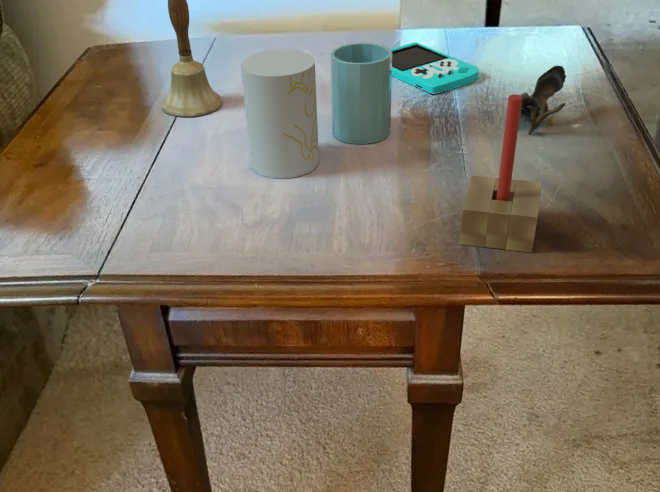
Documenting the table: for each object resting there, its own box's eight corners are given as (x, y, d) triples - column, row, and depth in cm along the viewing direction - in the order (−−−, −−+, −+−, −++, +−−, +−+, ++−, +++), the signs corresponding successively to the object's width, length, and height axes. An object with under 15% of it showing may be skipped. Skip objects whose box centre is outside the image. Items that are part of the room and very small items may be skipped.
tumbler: (395, 122, 99) (397, 44, 92) (383, 146, 93) (384, 65, 87) (341, 118, 100) (339, 41, 94) (326, 141, 95) (323, 61, 89)
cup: (304, 182, 87) (298, 79, 79) (239, 173, 89) (228, 72, 82) (328, 151, 93) (325, 52, 85) (267, 143, 95) (258, 47, 88)
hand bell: (229, 110, 104) (214, -13, 94) (169, 121, 102) (148, -4, 92) (214, 89, 110) (199, -29, 100) (157, 99, 108) (136, -21, 98)
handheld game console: (431, 96, 105) (432, 86, 104) (363, 63, 116) (362, 54, 115) (486, 78, 109) (487, 69, 108) (414, 49, 120) (415, 40, 119)
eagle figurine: (579, 129, 92) (577, 87, 98) (554, 84, 88) (553, 43, 94) (520, 154, 96) (522, 113, 102) (494, 112, 93) (497, 72, 98)
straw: (505, 227, 78) (522, 94, 69) (504, 234, 77) (521, 99, 68) (493, 226, 78) (509, 93, 69) (492, 232, 77) (508, 98, 68)
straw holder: (536, 216, 79) (541, 182, 77) (532, 253, 74) (537, 217, 71) (468, 209, 81) (471, 175, 78) (459, 244, 76) (462, 209, 73)
